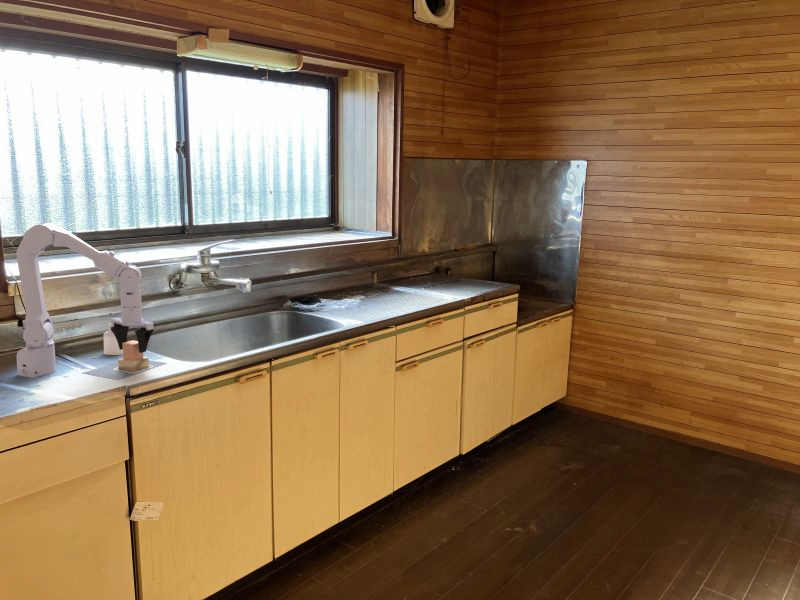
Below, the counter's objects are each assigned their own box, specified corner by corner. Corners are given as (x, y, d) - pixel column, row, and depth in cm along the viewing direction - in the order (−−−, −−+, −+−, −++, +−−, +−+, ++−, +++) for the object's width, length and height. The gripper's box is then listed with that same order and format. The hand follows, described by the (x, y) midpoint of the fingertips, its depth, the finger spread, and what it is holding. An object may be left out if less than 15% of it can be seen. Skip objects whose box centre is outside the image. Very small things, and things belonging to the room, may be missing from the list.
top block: (133, 360, 190) (133, 344, 189) (123, 359, 191) (122, 343, 191) (143, 357, 194) (142, 341, 193) (133, 356, 195) (132, 340, 194)
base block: (134, 371, 189) (133, 362, 189) (118, 369, 191) (118, 359, 191) (148, 366, 195) (148, 357, 194) (133, 364, 197) (133, 355, 196)
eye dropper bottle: (113, 358, 205) (111, 322, 203) (102, 355, 208) (100, 319, 206) (125, 355, 209) (123, 320, 207) (114, 353, 212) (113, 317, 210)
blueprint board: (118, 382, 181) (118, 379, 181) (81, 375, 186) (81, 372, 186) (167, 365, 200) (167, 362, 200) (132, 359, 205) (132, 357, 204)
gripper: (160, 306, 191) (161, 350, 193) (122, 301, 196) (124, 344, 198) (142, 310, 184) (144, 355, 187) (104, 305, 190) (106, 349, 192)
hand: (132, 350), depth 192 cm, fingers open, 7 cm apart
